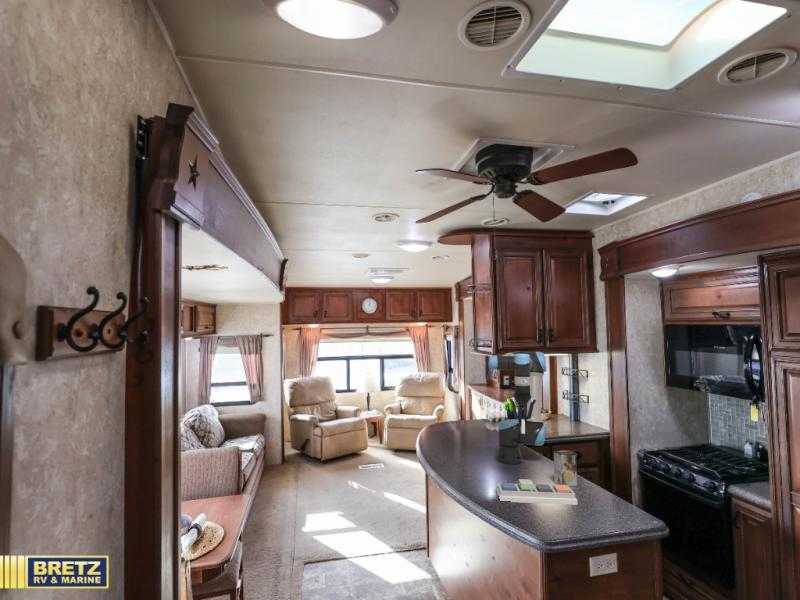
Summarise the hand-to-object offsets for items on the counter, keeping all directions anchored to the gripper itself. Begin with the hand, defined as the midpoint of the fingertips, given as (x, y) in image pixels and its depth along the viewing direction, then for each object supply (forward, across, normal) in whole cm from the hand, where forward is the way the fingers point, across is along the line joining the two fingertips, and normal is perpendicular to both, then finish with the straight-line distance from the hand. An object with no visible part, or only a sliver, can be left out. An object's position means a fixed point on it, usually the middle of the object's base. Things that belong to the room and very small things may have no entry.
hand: (522, 432), depth 212 cm
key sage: (+22, -1, -12) cm, 25 cm away
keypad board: (+26, +3, -12) cm, 29 cm away
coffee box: (+27, +22, +6) cm, 35 cm away
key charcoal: (+24, +7, -12) cm, 28 cm away
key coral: (+24, +15, -12) cm, 31 cm away
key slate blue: (+24, -9, -12) cm, 28 cm away
